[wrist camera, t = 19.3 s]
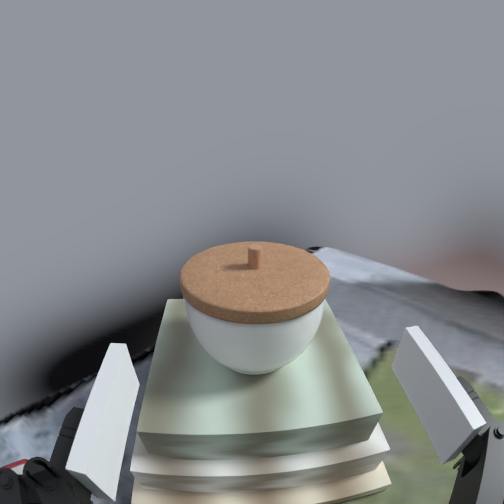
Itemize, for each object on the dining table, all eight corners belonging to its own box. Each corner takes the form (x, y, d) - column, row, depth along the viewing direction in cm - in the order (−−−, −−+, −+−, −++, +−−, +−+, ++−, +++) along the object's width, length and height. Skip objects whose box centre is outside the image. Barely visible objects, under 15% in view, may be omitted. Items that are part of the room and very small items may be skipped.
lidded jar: (193, 316, 29) (184, 225, 25) (300, 310, 30) (308, 221, 26) (188, 401, 19) (166, 289, 16) (333, 387, 20) (358, 278, 17)
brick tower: (323, 336, 40) (333, 277, 37) (385, 489, 19) (429, 438, 15) (163, 344, 39) (152, 284, 35) (136, 510, 17) (92, 467, 13)
